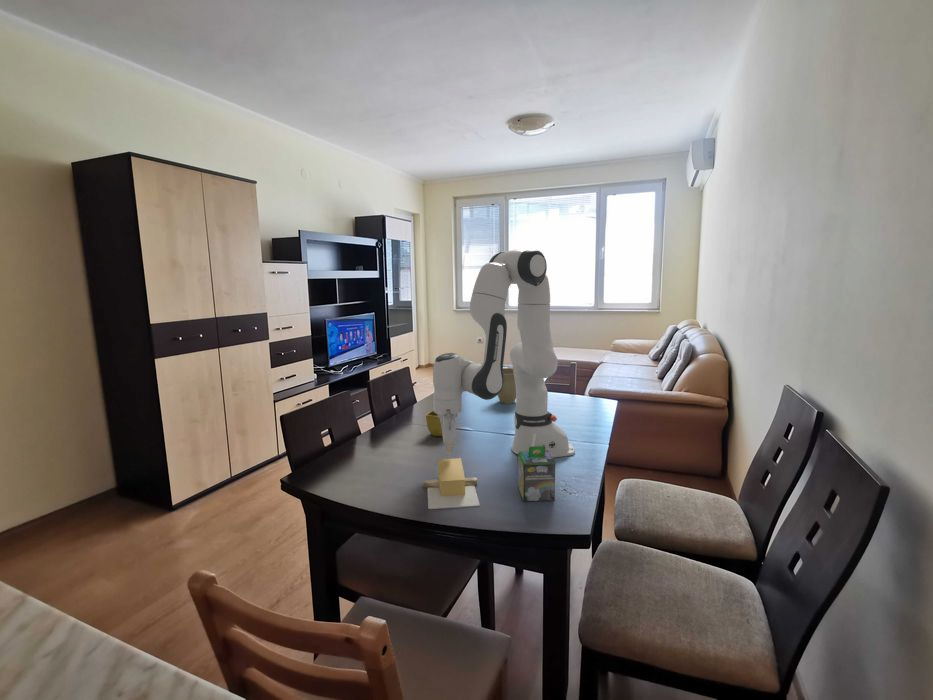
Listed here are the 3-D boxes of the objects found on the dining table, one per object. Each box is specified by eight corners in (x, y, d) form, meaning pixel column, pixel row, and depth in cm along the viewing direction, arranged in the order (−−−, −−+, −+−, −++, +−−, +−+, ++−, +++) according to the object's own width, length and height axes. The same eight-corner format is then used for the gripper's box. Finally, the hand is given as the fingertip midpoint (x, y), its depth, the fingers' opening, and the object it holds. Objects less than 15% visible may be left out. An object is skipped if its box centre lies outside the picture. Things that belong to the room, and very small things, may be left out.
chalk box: (548, 486, 133) (549, 438, 130) (555, 501, 124) (556, 450, 121) (517, 487, 132) (517, 439, 130) (522, 502, 123) (523, 451, 121)
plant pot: (507, 396, 236) (507, 366, 233) (527, 402, 224) (528, 371, 222) (486, 401, 226) (486, 370, 224) (506, 407, 215) (506, 375, 213)
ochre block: (460, 458, 136) (465, 479, 126) (460, 472, 138) (465, 494, 127) (437, 459, 135) (440, 481, 125) (438, 473, 137) (440, 496, 126)
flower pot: (446, 439, 173) (445, 416, 172) (425, 436, 176) (425, 414, 174) (454, 431, 181) (453, 410, 180) (434, 429, 184) (433, 408, 183)
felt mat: (474, 486, 133) (474, 485, 133) (479, 506, 121) (479, 505, 121) (427, 488, 132) (427, 487, 132) (428, 509, 120) (428, 508, 120)
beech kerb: (476, 481, 136) (476, 477, 136) (477, 484, 134) (477, 480, 134) (423, 484, 134) (423, 480, 134) (424, 487, 132) (423, 483, 132)
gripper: (460, 415, 128) (460, 460, 130) (455, 397, 148) (455, 436, 150) (438, 416, 127) (439, 461, 129) (436, 397, 147) (436, 437, 150)
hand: (448, 448), depth 140 cm, fingers open, 8 cm apart
